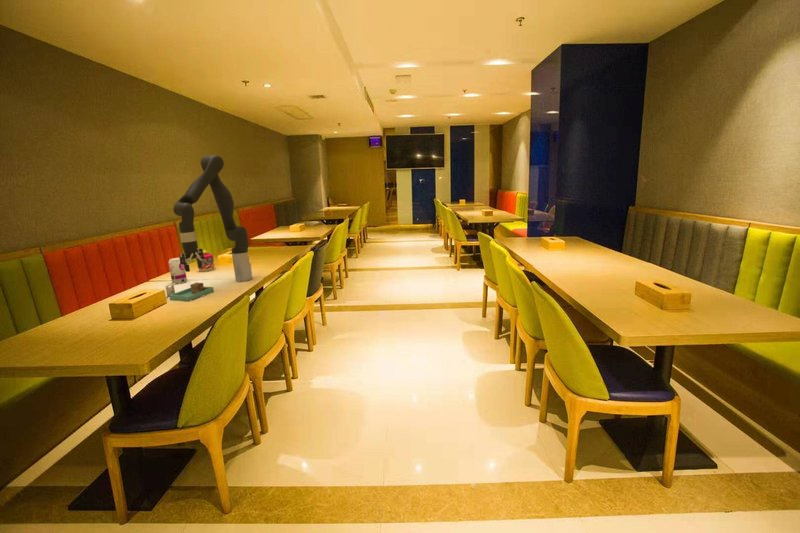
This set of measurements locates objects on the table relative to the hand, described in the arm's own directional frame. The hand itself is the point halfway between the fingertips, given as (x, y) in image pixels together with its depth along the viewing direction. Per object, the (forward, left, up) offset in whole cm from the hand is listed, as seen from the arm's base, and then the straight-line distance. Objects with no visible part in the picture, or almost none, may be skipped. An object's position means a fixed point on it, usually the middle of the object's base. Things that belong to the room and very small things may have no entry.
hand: (194, 269), depth 222 cm
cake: (-48, -39, -14) cm, 63 cm away
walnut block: (0, 0, -13) cm, 13 cm away
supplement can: (-18, -32, -14) cm, 39 cm away
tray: (+4, 0, -14) cm, 14 cm away
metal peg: (+7, -11, -14) cm, 19 cm away
